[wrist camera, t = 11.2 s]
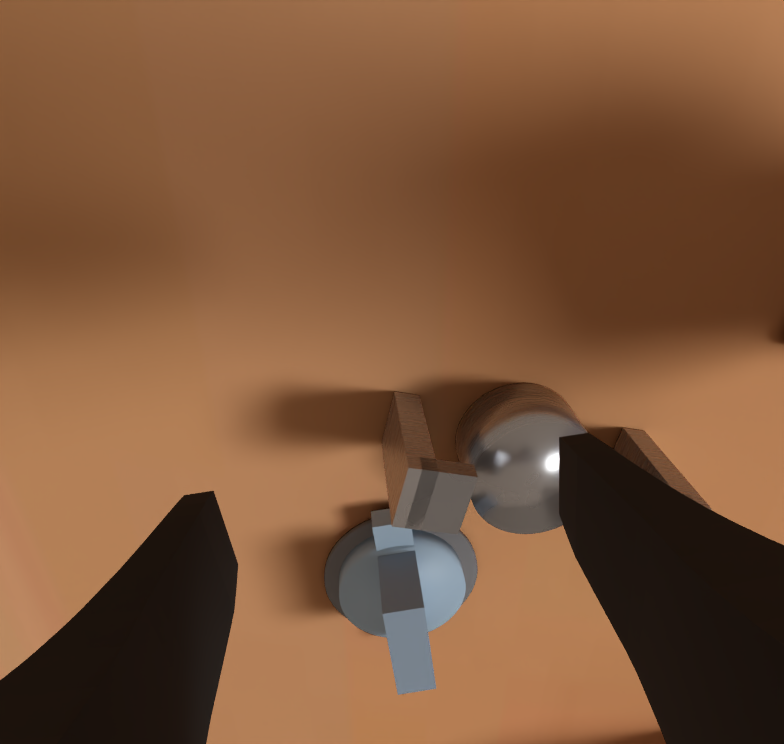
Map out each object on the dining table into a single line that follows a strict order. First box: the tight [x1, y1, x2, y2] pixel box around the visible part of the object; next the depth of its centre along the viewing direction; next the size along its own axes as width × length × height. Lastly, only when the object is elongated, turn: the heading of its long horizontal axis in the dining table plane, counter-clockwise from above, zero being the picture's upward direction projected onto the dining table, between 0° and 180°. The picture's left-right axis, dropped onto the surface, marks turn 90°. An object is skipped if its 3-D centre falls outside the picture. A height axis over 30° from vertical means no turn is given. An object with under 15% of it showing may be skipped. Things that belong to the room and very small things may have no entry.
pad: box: [324, 519, 477, 618], centre depth 27 cm, size 7×7×1 cm
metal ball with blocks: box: [382, 383, 711, 534], centre depth 22 cm, size 11×5×5 cm, turn 77°
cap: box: [339, 509, 466, 695], centre depth 25 cm, size 8×6×4 cm
